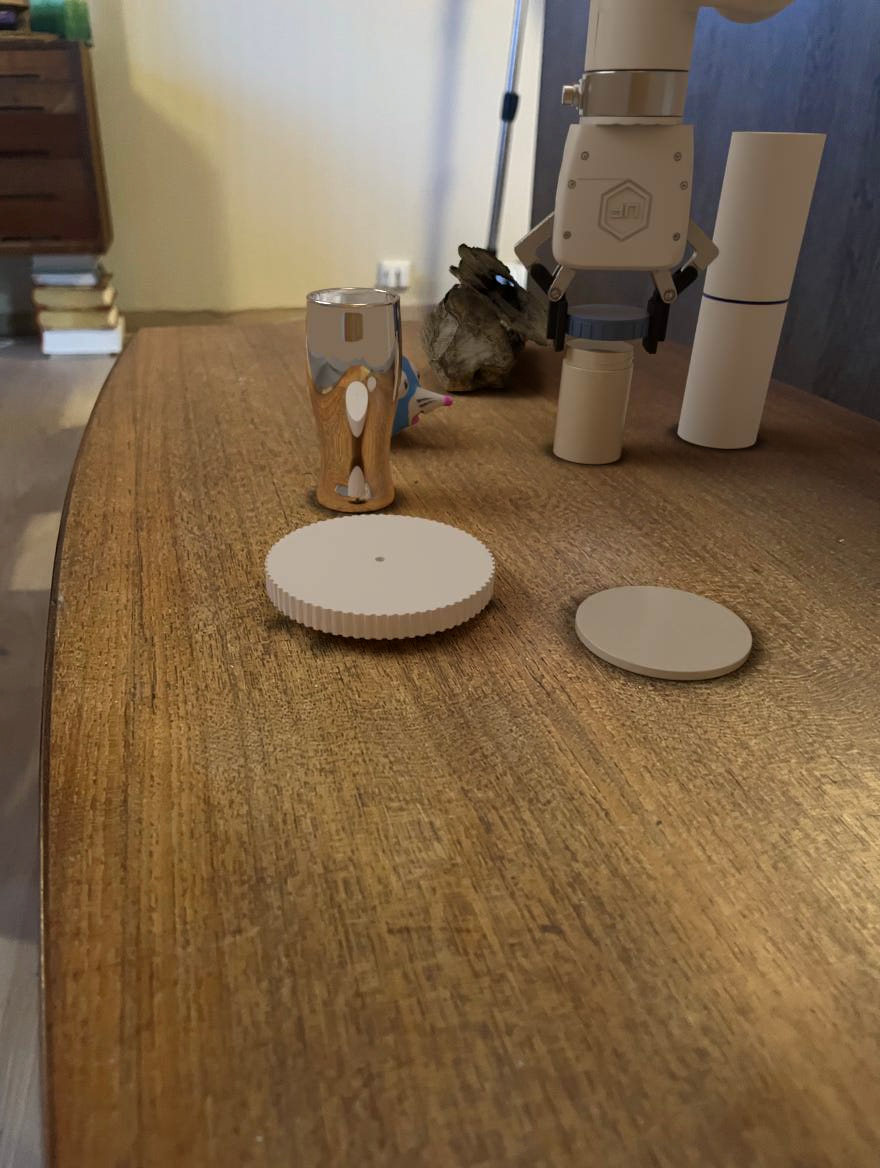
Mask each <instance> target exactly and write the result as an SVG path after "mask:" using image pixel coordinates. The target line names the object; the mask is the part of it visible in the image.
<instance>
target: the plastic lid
mask: <svg viewBox="0 0 880 1168" xmlns="http://www.w3.org/2000/svg"><path fill="white" fill-rule="evenodd" d="M267 553H268V554H266V556H265V558H264V571H265V572H264V573H265V586H266V593H267V594H268V595H267V596H268V598H270V602H271V603H273V606H274V607H275V608H277V610H278V611H279V612H283V615H284V616H285V617H287V616H289V619H290V620H292V621H295V620H296V624H298V625H299V624H300V625H301V624H304V627H306V628H310V627H311V628H312V629H313V630H315V631H319V630H320V631H322V633H325V634H328V633H330V634H332V635H334V636H339V635H341V636H342V637H344V638H349V637H353V638H354V639H360V638H364V639H365V640H371V639H375V640H379V641H381V640H383V639H387V640H393V639H398V640H404V639H405V638H410V639H412V638H415V637H417V636H420V637H425V636H426V635H427V634H429V635H435V634H436V632H439V633H440V632H441V633H442V632H444V631H446V629H449V630H451V629H453V628H454V627H455V626H461V625H462V623H463V622H464V623H466V622H468V621H469V620H470V618H471V619H474V618H475V617H476V614H477V615H479V614H481V610H485V608H486V606H487V605H489V601H491V600H492V596H493V595H494V594H493V593H494V585H495V575H496V562H495V557H493V553H492V552H491V550H490V549H489V548H487V545H486V544H483V541H481V540H478V537H476V536H473V535H472V534H471V533H467V531H465V530H460V528H458V527H453V526H452V525H451V524H445V522H437V520H429V519H428V518H420V517H419V516H415V517H414V516H413V517H412V516H411V515H405V516H404V515H402V514H397V515H394V514H390V513H389V514H384V513H379V514H375V513H370V514H365V513H364V514H360V515H357V514H352V515H351V516H348V515H344V516H343V517H334V518H332V519H330V518H327V519H326V520H318V521H317V522H316V523H315V522H312V523H310V525H303V527H301V528H300V527H299V528H296V530H294V531H293V530H292V531H290V532H289V534H285V535H284V536H283V537H281V538H279V540H278V541H276V542H275V543H274V545H272V546H271V547H270V549H269V550H268V552H267Z"/></svg>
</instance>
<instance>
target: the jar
mask: <svg viewBox="0 0 880 1168" xmlns="http://www.w3.org/2000/svg"><path fill="white" fill-rule="evenodd" d="M635 357H636V352H635V346H634V345H632V343H629V342H626V341H599V340H589V339H582V338H576V339H571V340H569V341H568V342H566V347H565V356H564V358H563V359H562V363H561V372H560V381H559V390H558V399H557V408H556V409H557V410H556V417H555V426H554V435H553V436H554V437H553V443H552V444H553V445H552V451H553V454H554V455H555V456H557V457H558V458H560V459H562V460H565V461H568V462H572V463H576V464H583V465H603V464H604V465H605V464H610V463H613V462H616V461H618V460H619V459H620V458H621V456H622V451H623V450H622V449H623V442H624V436H625V429H626V423H627V418H628V417H627V416H628V410H629V402H630V396H631V390H632V384H633V377H634V370H635V363H634V362H633V360H634V359H635Z"/></svg>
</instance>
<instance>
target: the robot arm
mask: <svg viewBox="0 0 880 1168" xmlns="http://www.w3.org/2000/svg"><path fill="white" fill-rule="evenodd" d="M796 1H797V0H590V4H589V13H588V25H587V37H586V38H587V39H586V49H585V58H584V71H583V72H585V73H583V74H582V78H579V79H578V81H573V83H563V85H562V94H561V105H562V106H571V108H576V109H575V110H577V111H578V110H579V111H578V115H579V120H578V121H579V123H570V125H569V128H568V131H567V135H566V139H565V143H564V148H563V155H562V161H561V166H560V170H559V174H558V181H557V188H556V193H555V200H554V201H555V202H554V209H553V211H551V213H549V214H548V215H547V216H546V217H545V218H544V219H543V220H541V221H540V222H539V223H537V224H536V225H535V227H534V226H533V228H532V229H531V230H530V231H528V232H527V233H526V234H525V235H523V236H522V237H521V238H520V239H519V240H517V242H515V244H514V245H513V251H514V254H515V256H516V257H517V259H518V260H519V261H520V263H521V264H522V266H523V267H524V268H525V270H526V271H527V272H528V274H529V275H530V277H531V278H532V280H533V281H534V282H535V283H536V284H537V286H538V287H539V288H540V289H541V290H542V291H543V293H544V294H545V295H546V296H547V297H548V305H547V309H548V310H547V316H546V317H547V328H546V339H552V347H553V350H554V352H555V353H562V351H564V350H565V342H566V333H565V332H566V322H567V312H568V308H569V301H568V299H567V297H566V296H567V293H566V291H567V289H568V288H569V286H570V284H571V283H572V281H573V280H574V277H575V276H576V274H577V272H579V270H585V271H586V270H588V271H589V270H590V271H644V272H645V271H648V275H649V277H650V279H651V282H652V285H653V289H654V290H653V291H652V296H650V298H648V300H647V306H646V310H647V311H649V312H650V313H651V318H650V319H651V321H650V328H649V333H648V335H647V336H646V337H643V338H642V341H641V346H642V347H643V349H644V351H646V353H648V354H649V355H656V354H657V351H658V344H659V342H665V341H666V337H667V330H668V329H667V328H668V323H669V317H670V310H671V304H672V303H674V302H675V301H676V299H677V297H678V296H679V295H680V294H682V293H683V292H684V291H685V290H686V289H688V287H690V285H692V284H693V283H694V282H695V281H696V280H697V278H698V277H699V275H700V274H702V273H703V272H704V271H705V270H707V268H708V266H709V265H710V264H711V263H712V262H713V261H714V260H715V259H716V258H717V256H718V255H719V249H718V247H717V246H716V245H715V244H714V243H713V242H712V241H713V240H712V239H711V238H710V237H709V236H708V235H707V234H706V233H705V232H704V231H703V230H702V229H701V228H700V226H699V225H698V224H697V223H696V222H695V221H694V220H693V219H692V217H690V214H691V213H690V211H691V204H692V203H691V201H692V190H693V177H694V158H695V157H694V156H695V155H694V154H695V151H694V150H695V149H694V148H695V139H694V138H695V136H694V134H695V133H694V124H683V119H684V117H683V116H684V112H685V104H686V99H687V93H688V84H689V78H690V71H691V70H690V69H691V63H692V56H693V51H694V42H695V36H696V29H697V22H698V16H699V13H700V12H699V11H700V9H701V8H702V7H703V8H705V7H706V8H714V10H715V11H716V12H717V14H719V15H720V16H721V17H723V18H724V19H726V20H728V21H730V22H733V23H736V24H743V25H747V24H756V23H760V22H764V21H766V20H768V19H771V18H772V17H775V16H776V15H777V14H779V13H780V12H782V11H783V10H784V9H786V8H788V7H789V6H790V5H792V4H793V3H795V2H796ZM549 238H550V241H551V247H550V248H551V252H552V256H553V258H554V260H555V261H556V262H557V263H558V265H557V266H556V267H555V269H554V271H553V273H551V272H550V271H549V270H548V268H547V267H546V266H545V265H544V264H543V263H542V261H541V260H540V259H539V257H538V255H537V253H536V251H537V249H538V248H539V247H540V246H541V245H542V244H544V243H545V242H546V241H547V240H548V239H549ZM687 243H688V245H690V246H691V247H692V249H693V254H692V256H690V258H688V259H689V260H687V262H685V263H684V264H683V265H681V266H680V267H679V268H677V269H676V271H675V272H673V273H672V274H671V271H670V269H673V268H674V267H677V266H678V265H680V264H681V262H682V260H683V258H684V255H685V251H686V246H687Z"/></svg>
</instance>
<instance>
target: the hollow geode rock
mask: <svg viewBox="0 0 880 1168" xmlns="http://www.w3.org/2000/svg"><path fill="white" fill-rule="evenodd" d="M457 255H458V256H459V258H460V260H459V262H458V266H456V265H453V264H451V265H450V266H449V268H448V272H449V273H450V274H451V275H452V276H453V277H454V278H456V279H457V281H458V282H459V283H455V284H453V285H452V287H451V288H450V289H449V290H448V291H447V292H445V294H444V297H443V298H442V299H441V300H440V301H439V303H437V304H436V306H435V307H434V309H433V310H432V311H431V312H429V313H428V314H426V316H425V317H424V319H423V322H422V325H421V329H420V331H419V334H420V342H421V344H422V350H423V352H424V354H425V356H426V359H427V361H428V365H429V366H430V368H431V369H432V371H433V372H434V374H435V376H436V378H437V380H438V382H439V384H440V385H441V387H442V388H443V390H444V391H446V392H455V391H456V392H465V391H475V390H477V389H484V388H493V389H501V388H504V386H505V383H506V380H507V378H508V377H509V375H510V373H511V370H512V368H513V366H515V364H516V363H517V361H518V360H519V357H520V355H521V353H522V352H523V351H524V349H525V348H526V343H527V342H529V341H530V342H531V341H532V342H534V344H535V345H538V346H540V347H541V346H543V347H548V346H551V344H552V341H553V339H546V328H547V317H548V316H547V315H546V312H548V305H547V304H546V303H545V302H544V301H543V300H542V299H541V298H540V297H536V296H534V293H533V292H531V291H528V290H526V289H525V288H524V287H523V286H521V285H520V284H519V282H518V281H517V280H515V278H514V276H513V275H511V269H510V268H509V266H508V265H506V264H505V263H504V262H503V261H502V260H500V259H499V258H498V257H497V256H495V255H494V254H493V253H492V252H490V250H488V249H486V248H483V247H478V246H472V247H471V246H469V245H468V244H466V243H464V242H463V243H461V244H459V245H458V246H457ZM497 277H501V278H502V279H504V280H506V281H508V282H510V284H512V285H510V284H503V283H502V282H500V281H499V280H498V279H497Z"/></svg>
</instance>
